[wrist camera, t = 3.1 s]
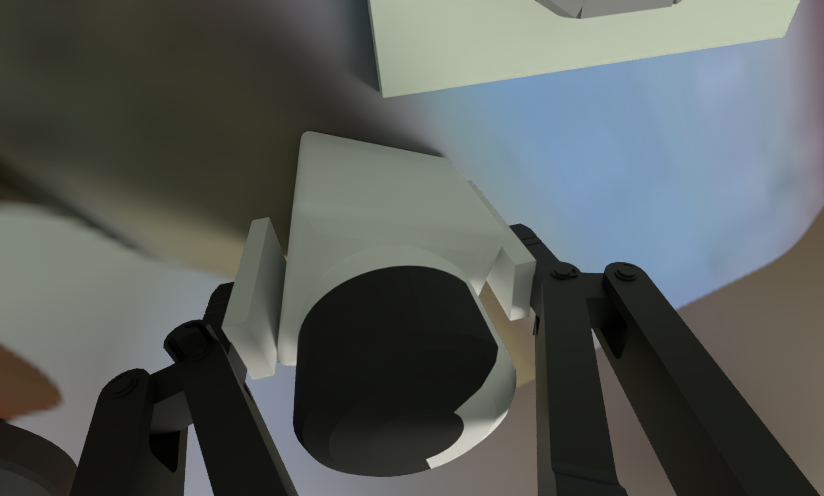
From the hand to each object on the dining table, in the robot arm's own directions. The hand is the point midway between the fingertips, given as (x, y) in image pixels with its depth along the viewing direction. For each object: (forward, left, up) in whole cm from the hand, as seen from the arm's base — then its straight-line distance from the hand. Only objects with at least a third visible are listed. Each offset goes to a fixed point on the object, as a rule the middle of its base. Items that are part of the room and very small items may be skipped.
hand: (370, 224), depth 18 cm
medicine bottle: (0, 0, -2) cm, 2 cm away
